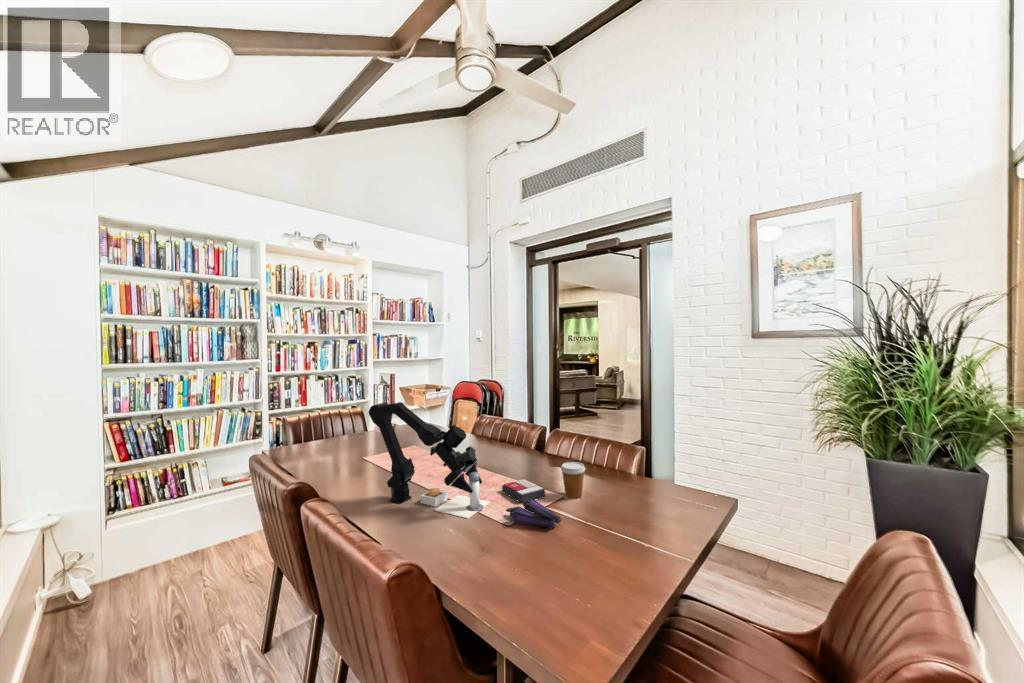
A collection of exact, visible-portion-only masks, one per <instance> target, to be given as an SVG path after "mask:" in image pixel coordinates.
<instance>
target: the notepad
mask: <svg viewBox="0 0 1024 683" xmlns="http://www.w3.org/2000/svg"><path fill="white" fill-rule="evenodd" d="M490 502H491V501H489V500H484V499H480V508H478V509H471V508H470V496H465V495H461V494H459V495H456V496H455V497H453V498H451V499H449V500H447V502H446V501H445V502H444V503H442V504H440V505H439V506H438V507H436V508H434V512H438V513H443V514H446V515H450V514H451V516H456V517H459V518H464V519H470V518H471V517H473V516H474V515H475V514H477V513H478V512H479V510H480V511H481V510H483V509H484V508H485V507H487V506H489V505H490V504H491V503H490ZM489 503H490V504H489ZM486 505H487V506H486ZM483 507H484V508H483Z"/></svg>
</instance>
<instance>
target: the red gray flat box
mask: <svg viewBox="0 0 1024 683" xmlns="http://www.w3.org/2000/svg"><path fill="white" fill-rule="evenodd" d="M501 490H502V491H503V492H505V493H506V494H505V493H504V494H505V495H507V494H508V495H510V496H511V497H510V496H509V497H510V498H512V497H513V498H512V499H514V500H515V499H516V500H518V501H519V502H521V503H522V501H526V500H532V499H534V500H535V499H538V500H540V499H539V498H542V497H545V498H546V492H545V488H544V487H542V486H539V485H538V484H535V483H533V482H531V481H530V480H529V481H528V480H527V479H519V480H515V481H511V482H507V483H504V484H502V486H501ZM503 492H502V493H503ZM508 495H507V496H508ZM542 499H543V498H542ZM516 500H515V501H516ZM518 501H517V502H518ZM535 501H536V500H535ZM519 502H518V503H519ZM521 503H520V504H521Z"/></svg>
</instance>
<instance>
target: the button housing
mask: <svg viewBox="0 0 1024 683" xmlns="http://www.w3.org/2000/svg"><path fill="white" fill-rule="evenodd" d="M446 501H448V491H443V490H440V495H438V496H437V497H431V496H428V491H427V492H425V493H423V494H421V495H420V504H422V503H423V504H422V505H426V504H427V505H426V506H430V505H431V507H436V508H437V506H438V507H439V506H440V505H442V504H444V503H445V502H446Z"/></svg>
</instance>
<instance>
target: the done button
mask: <svg viewBox="0 0 1024 683" xmlns="http://www.w3.org/2000/svg"><path fill="white" fill-rule="evenodd" d="M440 491H441V490H440V488H439V487H432V488H429V489H428V490H427V492H428V496H431V497H437V496H438V495H440Z"/></svg>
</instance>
